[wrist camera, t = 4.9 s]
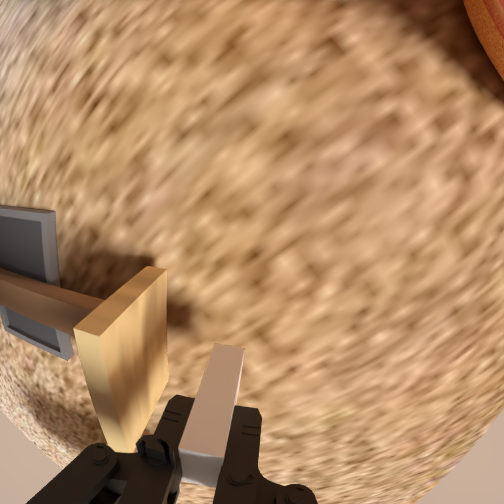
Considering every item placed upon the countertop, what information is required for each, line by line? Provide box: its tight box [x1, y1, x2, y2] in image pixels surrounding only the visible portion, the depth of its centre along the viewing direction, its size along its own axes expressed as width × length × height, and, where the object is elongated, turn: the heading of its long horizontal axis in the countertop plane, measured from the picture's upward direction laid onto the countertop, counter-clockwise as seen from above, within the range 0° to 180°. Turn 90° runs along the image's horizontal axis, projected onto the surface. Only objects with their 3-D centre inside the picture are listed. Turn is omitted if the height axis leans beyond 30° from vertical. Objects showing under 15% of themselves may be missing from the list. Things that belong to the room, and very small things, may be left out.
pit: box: [0, 205, 74, 361], centre depth 18 cm, size 12×9×1 cm
